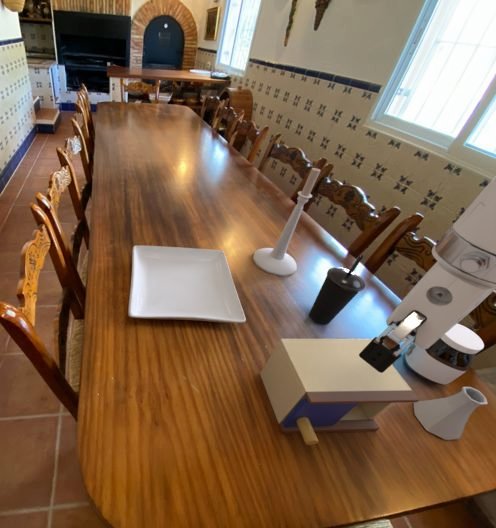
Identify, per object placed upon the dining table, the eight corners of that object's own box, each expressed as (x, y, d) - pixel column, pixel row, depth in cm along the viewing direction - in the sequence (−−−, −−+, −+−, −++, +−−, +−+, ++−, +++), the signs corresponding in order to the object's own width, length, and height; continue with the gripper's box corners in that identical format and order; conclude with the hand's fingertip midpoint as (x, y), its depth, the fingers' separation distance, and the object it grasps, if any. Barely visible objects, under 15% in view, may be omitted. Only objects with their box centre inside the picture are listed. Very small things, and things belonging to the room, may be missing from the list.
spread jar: (444, 395, 61) (491, 364, 53) (381, 363, 65) (416, 331, 58) (442, 355, 68) (482, 323, 61) (386, 330, 73) (417, 297, 66)
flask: (422, 434, 54) (463, 410, 48) (405, 397, 60) (440, 370, 53) (466, 446, 53) (515, 422, 47) (445, 407, 59) (486, 381, 52)
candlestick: (289, 252, 96) (333, 160, 77) (301, 278, 86) (355, 181, 67) (249, 247, 97) (283, 155, 77) (257, 273, 87) (298, 175, 68)
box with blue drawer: (376, 431, 54) (419, 400, 46) (282, 433, 53) (311, 402, 45) (341, 372, 63) (372, 338, 55) (259, 373, 62) (280, 338, 54)
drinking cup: (311, 329, 72) (354, 267, 59) (298, 306, 77) (334, 244, 65) (341, 330, 72) (390, 268, 59) (326, 306, 78) (367, 245, 65)
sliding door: (344, 448, 50) (375, 425, 44) (292, 450, 49) (317, 426, 43) (331, 422, 53) (358, 397, 47) (282, 423, 53) (304, 398, 47)
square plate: (132, 254, 90) (132, 243, 87) (221, 259, 91) (224, 249, 88) (127, 325, 69) (128, 314, 66) (243, 331, 70) (248, 320, 67)
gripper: (503, 307, 25) (385, 401, 36) (550, 252, 33) (441, 343, 44) (408, 258, 30) (329, 354, 41) (469, 220, 38) (388, 309, 49)
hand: (387, 348), depth 43 cm, fingers open, 9 cm apart
